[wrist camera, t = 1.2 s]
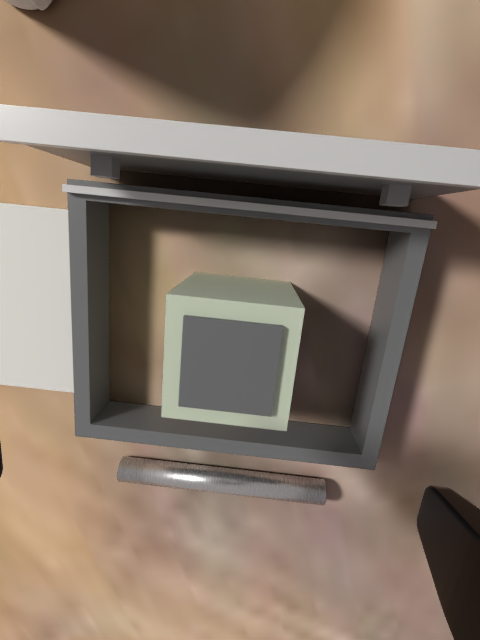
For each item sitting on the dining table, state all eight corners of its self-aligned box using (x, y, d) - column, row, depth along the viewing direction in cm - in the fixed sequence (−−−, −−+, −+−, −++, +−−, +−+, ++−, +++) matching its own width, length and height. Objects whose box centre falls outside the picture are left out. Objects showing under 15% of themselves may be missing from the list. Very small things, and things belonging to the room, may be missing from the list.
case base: (409, 216, 17) (439, 215, 14) (361, 441, 21) (377, 475, 18) (93, 184, 18) (62, 177, 15) (96, 411, 21) (71, 440, 18)
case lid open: (422, 179, 17) (519, 153, 11) (414, 214, 17) (503, 209, 11) (88, 147, 17) (-9, 103, 11) (89, 182, 18) (-5, 159, 11)
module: (290, 281, 18) (305, 310, 12) (278, 370, 20) (286, 434, 14) (194, 271, 19) (164, 295, 13) (189, 360, 20) (159, 420, 14)
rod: (323, 473, 21) (327, 490, 20) (319, 493, 22) (323, 511, 20) (125, 451, 22) (117, 466, 20) (125, 470, 22) (117, 487, 21)
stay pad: (79, 210, 18) (75, 210, 18) (84, 390, 21) (80, 393, 20) (-56, 197, 18) (-63, 196, 18) (-35, 377, 21) (-40, 380, 20)
